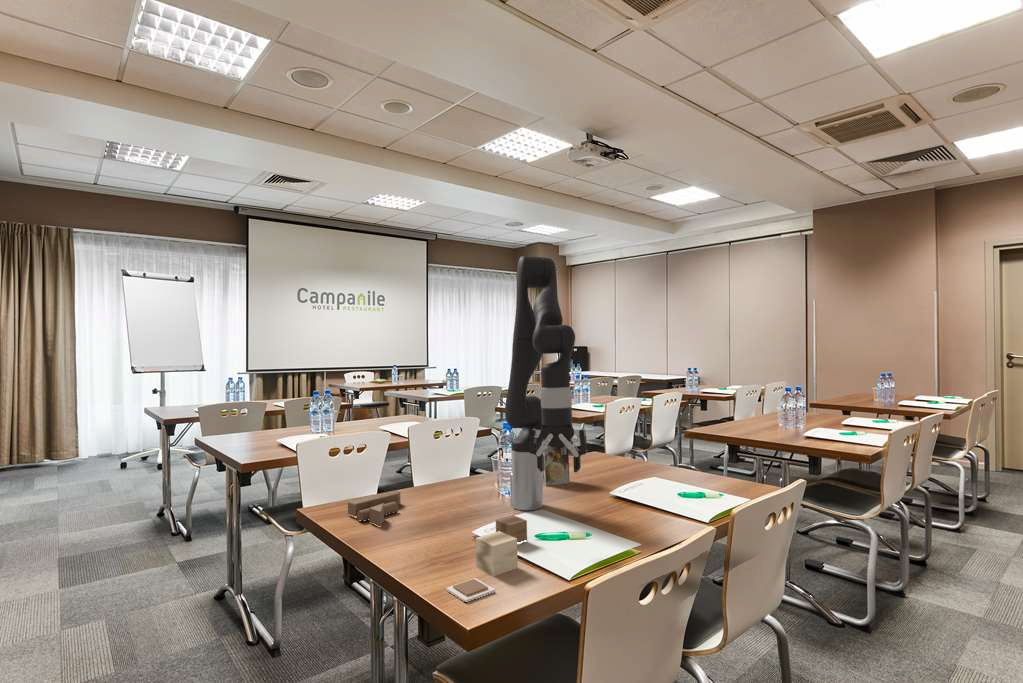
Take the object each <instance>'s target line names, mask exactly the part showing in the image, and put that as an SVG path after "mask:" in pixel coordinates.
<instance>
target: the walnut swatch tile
mask: <svg viewBox="0 0 1023 683" xmlns="http://www.w3.org/2000/svg"><path fill="white" fill-rule="evenodd" d="M445 590H446V592H447V591H448V592H447V593H449V592H450V593H451V595H452V594H453V595H455V596H456V597H458V598H459V599H461V600H463V601H465V602H468V601H471V600H473V601H475V600H474V599H476V600H478V599H477V598H479V599H481V598H484V597H486V595H487V596H489V595H488V594H490V595H492V594H495V593H496V589H495V588H494V587H492V586H490V585H488V584H487V583H485V582H484V581H481V580H480V579H478V578H476V577H474V578H471V579H470V578H469V579H468V580H465V581H462V582H459V583H455V584H453V585H451V586H450V585H449V586H447V587H446V588H445ZM494 592H495V593H494ZM450 593H449V594H450ZM491 593H492V594H491ZM453 595H452V596H453ZM455 596H454V597H455ZM483 596H484V597H483ZM456 597H455V598H456ZM480 597H481V598H480ZM458 598H457V599H458ZM459 599H458V600H459ZM461 600H460V601H461ZM463 601H462V602H463ZM471 602H472V601H471ZM468 603H469V602H468Z"/></svg>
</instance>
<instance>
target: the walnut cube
mask: <svg viewBox="0 0 1023 683" xmlns="http://www.w3.org/2000/svg"><path fill="white" fill-rule="evenodd" d="M527 521H528V520H527V519H524V518H522V517H519V516H515V515H513V514H512V515H509V516H505V517H501V518H498V519H495V532H498V531H500V532H503V533H505V534H507V535H510V536H512V537H514V538H517V542H521V541H524V540H527V541H528V522H527Z"/></svg>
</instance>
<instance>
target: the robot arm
mask: <svg viewBox="0 0 1023 683" xmlns="http://www.w3.org/2000/svg"><path fill="white" fill-rule="evenodd" d="M516 268H517V269H516V290H515V291H516V292H515V293H516V295H515V296H516V298H515V299H516V301H515V316H514V317H515V318H514V328H513V335H512V336H513V337H512V347H511V348H512V349H511V350H512V351H511V362H510V364H511V365H510V375H509V383H508V387H507V388H508V389H507V391H506V392H507V393H506V399H505V405H504V416H505V421H506V423H507V426H509V427H510V428H512V429H521V432H520V433H519V434H518V435H517V436H516V437H515V438H513V439H512V440H511V444H510V448H511V449H510V450H511V452H510V453H511V473H510V474H509V478H510V479H509V480H510V481H509V483H510V484H509V485H510V493H509V494H510V505H511V506H512V507H513V509H516V510H518V511H536V510H540V509H542V508H543V507H544V502H543V501H544V500H543V499H544V497H543V496H544V494H543V487H544V486H543V485H544V484H542V472H543V471H544V470H545V465H544V455H543V453H544V451H545V450H546V449H547V447H548V446H551V447H565V446H566V447H567V448H568V451H569V452H571V454H572V455H573V457H572V458H573V473H578V472H579V471H580V469H581V468H582V466H581V462H582V461H581V457H582V456H584V455H585V454H587V453H588V450H589V449H588V442H587V432H586V431H587V430H586V429H585V428H581V429H575V428H574V427H573V408H572V406H573V405H572V402H573V401H572V394H571V384H570V366H571V359H572V355H573V351H574V347H575V342H576V333H575V330H574V328H572V326H570V325H568V324H563V322H564V320H563V315H562V311H561V307H560V304H559V295H558V294H559V293H558V277H557V275H558V274H557V268H556V263H555V261H554V260H553V259H552V258H549V257H545V256H543V257H542V256H531V255H530V256H529V255H522V256H520V257H519V259H518V263H517V267H516ZM529 289H540V290H541V289H543V290H542V291H540V293H539V294H538V295H537V296H536V298H535V300H534V303H533V307H532V304H531V301H530V297H529ZM545 354H546V355H547V354H548V355H549V354H560V355H559V358H557V360H556V361H553V362H552V361H551V362H550V363H544V364H543V365H542V366H541V368H540V377H541V378H540V379H541V380H540V383H541V393H540V397H538V396H536V395H528V396H527V390H528V386H529V382H530V381H531V380H530V379H531V378H532V376H533V374H534V373H535V370H536V369H537V367H538V366H539V364H540V362H541V360H542V358H543V357H542V356H543V355H545ZM574 436H576V438H577V439H578V440H579V445H580V449H579V448H578V447H577V445H576V444H575V443H574V441H573V440H572V439H573V438H574ZM543 439H544V440H545V441H544V442H543ZM542 442H543V444H542Z"/></svg>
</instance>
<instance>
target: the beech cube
mask: <svg viewBox="0 0 1023 683" xmlns="http://www.w3.org/2000/svg"><path fill="white" fill-rule="evenodd" d="M475 559H476V560H475V561H476V562H475V563H476V565H475V566H476V568H478V569H479V570H481V571H483V572H485V573H487V574H489V575H490V576H492V577H496V576H499V575H502V574H505V573H507V572H510V571H513V570H517V569H518V568H519V566H518V562H519V561H518V559H519V558H518V545H517V538H514V537H512V536H510V535H507V534H505V533H503V532H500V531H498V532H496V531H495V532H491V533H488V534H484V535H480V536H478V537H477V536H476V537H475Z"/></svg>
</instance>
